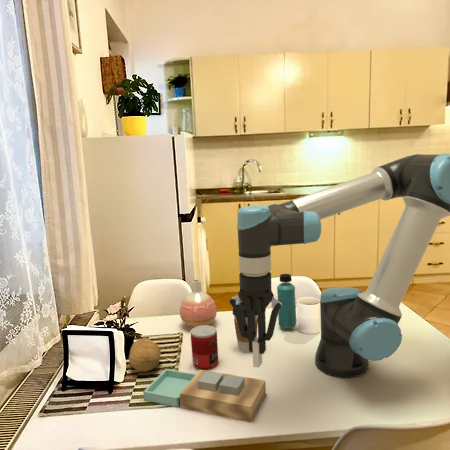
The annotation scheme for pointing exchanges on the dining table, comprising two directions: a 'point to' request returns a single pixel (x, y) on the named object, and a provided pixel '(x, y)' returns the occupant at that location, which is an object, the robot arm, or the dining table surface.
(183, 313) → the vase
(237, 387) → the tile
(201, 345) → the canned food
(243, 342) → the coffee cup
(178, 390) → the tray
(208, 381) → the tile
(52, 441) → the dining table surface
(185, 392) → the oak board
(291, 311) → the beverage bottle
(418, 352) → the dining table surface
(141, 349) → the potato
